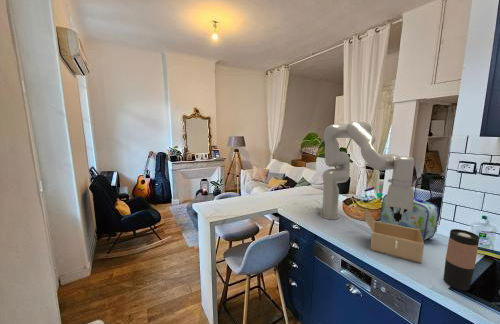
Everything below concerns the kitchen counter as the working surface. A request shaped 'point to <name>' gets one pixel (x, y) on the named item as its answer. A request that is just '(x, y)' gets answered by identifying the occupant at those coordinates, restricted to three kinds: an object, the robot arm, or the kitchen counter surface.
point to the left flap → (369, 219)
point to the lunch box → (424, 215)
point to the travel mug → (460, 258)
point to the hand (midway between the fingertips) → (397, 220)
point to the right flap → (418, 228)
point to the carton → (397, 241)
